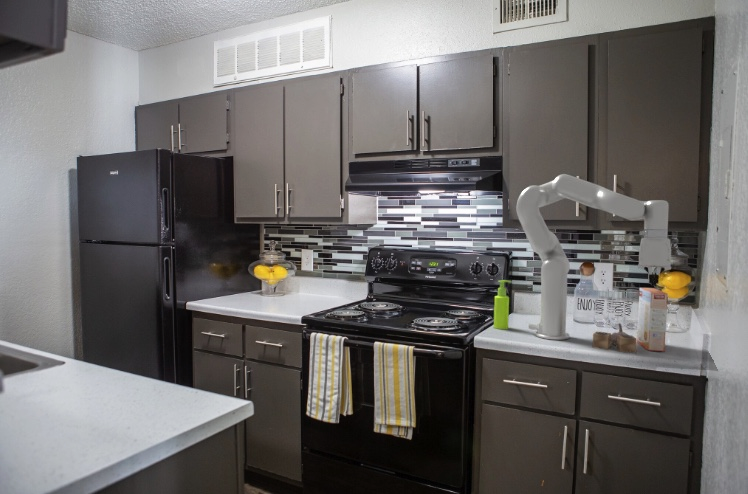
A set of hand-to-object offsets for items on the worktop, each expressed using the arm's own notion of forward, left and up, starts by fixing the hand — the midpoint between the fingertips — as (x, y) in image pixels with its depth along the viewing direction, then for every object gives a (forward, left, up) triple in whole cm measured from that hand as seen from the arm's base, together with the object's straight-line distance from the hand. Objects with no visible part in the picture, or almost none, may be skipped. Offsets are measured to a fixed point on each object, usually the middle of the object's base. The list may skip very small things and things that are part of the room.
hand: (653, 285), depth 193 cm
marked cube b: (-16, -9, -23) cm, 29 cm away
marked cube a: (-8, -10, -23) cm, 26 cm away
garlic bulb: (-10, -1, -23) cm, 25 cm away
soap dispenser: (-55, +7, -23) cm, 60 cm away
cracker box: (0, 0, -23) cm, 23 cm away
